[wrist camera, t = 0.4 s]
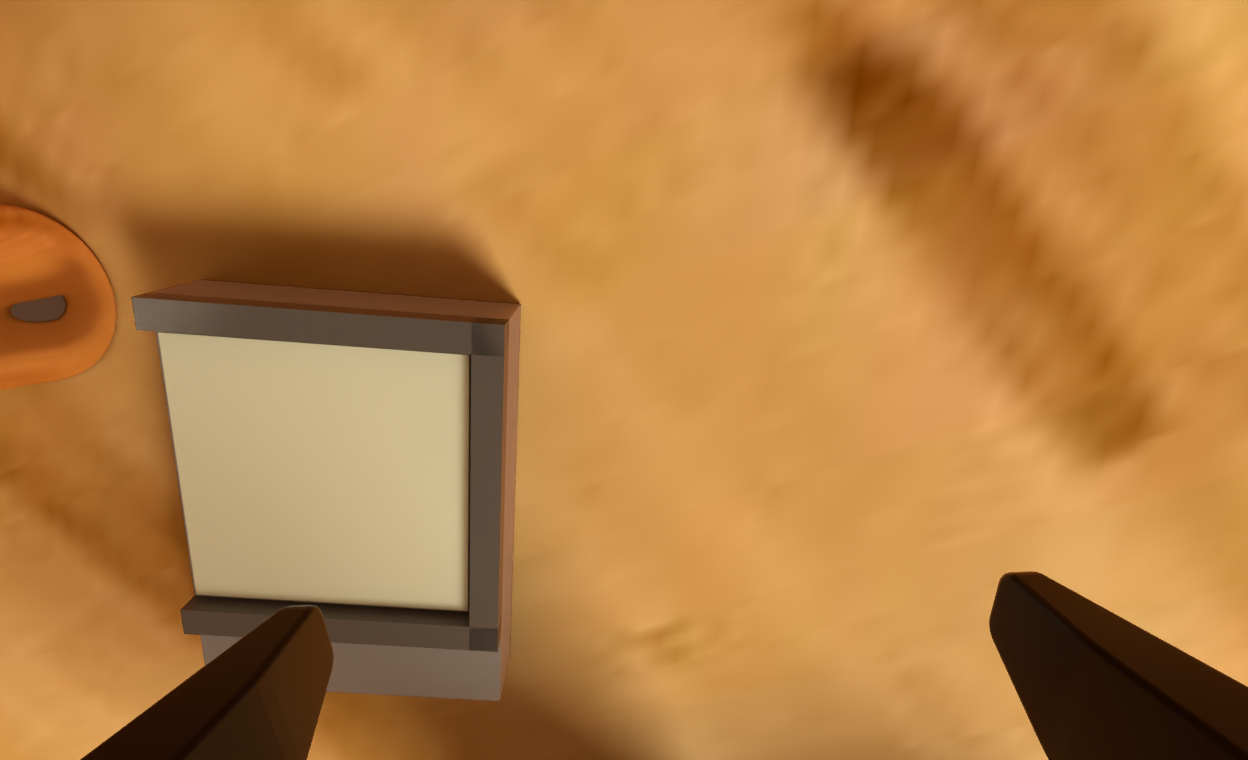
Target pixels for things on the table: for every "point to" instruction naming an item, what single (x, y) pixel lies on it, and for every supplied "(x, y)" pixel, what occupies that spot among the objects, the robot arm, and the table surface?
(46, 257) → the beer glass
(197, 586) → the dock
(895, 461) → the table surface
